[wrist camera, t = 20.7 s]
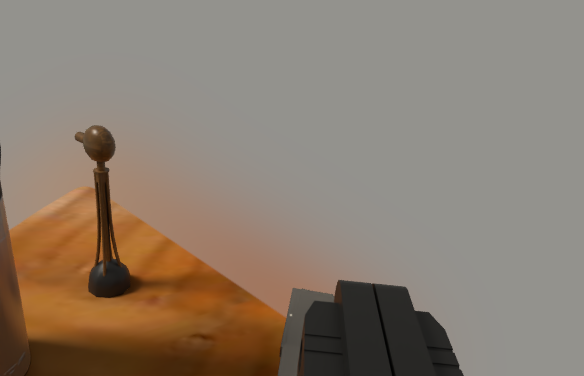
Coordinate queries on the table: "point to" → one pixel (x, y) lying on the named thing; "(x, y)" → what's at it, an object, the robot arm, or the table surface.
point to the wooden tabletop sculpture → (104, 217)
